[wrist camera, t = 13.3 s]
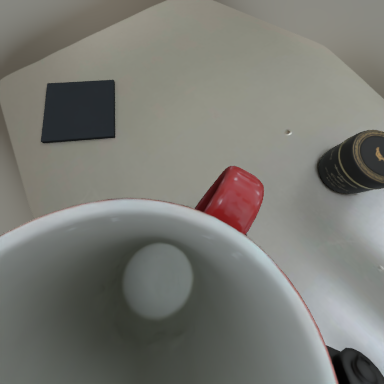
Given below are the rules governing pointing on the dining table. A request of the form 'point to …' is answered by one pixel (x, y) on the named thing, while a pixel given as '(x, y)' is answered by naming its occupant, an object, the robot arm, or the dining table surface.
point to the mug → (154, 296)
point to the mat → (79, 111)
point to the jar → (355, 163)
